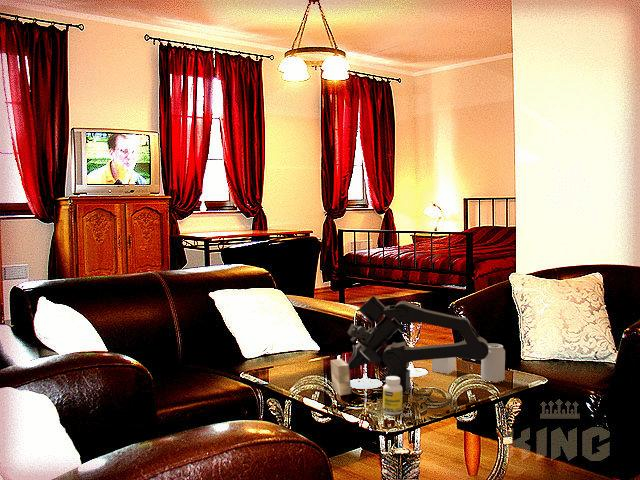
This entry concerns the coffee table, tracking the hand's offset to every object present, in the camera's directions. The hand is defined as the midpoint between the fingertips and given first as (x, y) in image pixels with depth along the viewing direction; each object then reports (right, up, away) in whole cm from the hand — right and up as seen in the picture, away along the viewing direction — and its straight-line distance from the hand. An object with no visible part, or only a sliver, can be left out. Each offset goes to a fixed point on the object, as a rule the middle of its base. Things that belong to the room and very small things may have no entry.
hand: (346, 369), depth 213 cm
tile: (-1, -7, 0) cm, 7 cm away
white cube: (+34, -5, +24) cm, 42 cm away
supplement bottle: (+12, -8, -20) cm, 25 cm away
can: (+48, -6, +12) cm, 50 cm away
